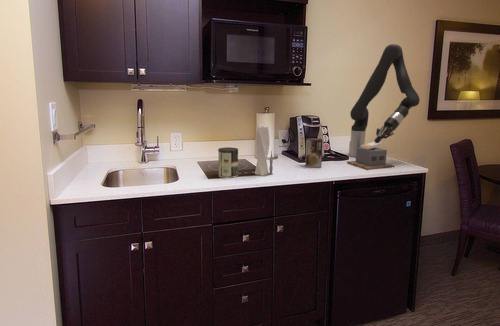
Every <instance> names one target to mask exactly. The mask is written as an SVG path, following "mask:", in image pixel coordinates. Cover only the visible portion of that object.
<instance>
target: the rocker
mask: <svg viewBox="0 0 500 326" xmlns="http://www.w3.org/2000/svg"><path fill="white" fill-rule="evenodd" d="M381 146H384V142H381V141H380V142H379V143H375V141H372V142H368V143H365V144H364V145H361V148H364V149H371V148H375V147H376V148H380V147H381Z"/></svg>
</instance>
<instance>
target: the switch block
mask: <svg viewBox="0 0 500 326" xmlns="http://www.w3.org/2000/svg"><path fill="white" fill-rule="evenodd" d="M387 152H388V150H387V149H385V148H380V147H375V148H371V149H364V148H357V153H356V157H355V161H356V162H357V163H360V164H363V165H367V166H378V165H386V163H387Z"/></svg>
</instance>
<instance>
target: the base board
mask: <svg viewBox="0 0 500 326" xmlns="http://www.w3.org/2000/svg"><path fill="white" fill-rule="evenodd" d="M346 163H347V165H351V166H353V167H356V168H359V169H362V170H366V171H371V170H381V169H392V167H393V168H395V167H396V166H395V165H394V164H391V163H387V162H386V165H378V166H367V165H363V164H360V163H357V162H356V160H350V161H347V162H346Z"/></svg>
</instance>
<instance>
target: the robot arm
mask: <svg viewBox="0 0 500 326" xmlns="http://www.w3.org/2000/svg"><path fill="white" fill-rule="evenodd" d="M392 65H393V68H394V71H395V77H396V81H397V85H398V88H399V91H400V93H401V94H405V96H406V97H404V98H403V99H402V100H401V101H400V103H399V105H398V107H397V108H396V109H395V110H394V111H393V113H391V114H390V115H389V117H388V118H387V119H386V120H385V121H384V123H383V126H381V128H376V133H375V134H376V138H374V141H373V142H375V143H379V142H381V141H382V140H383V139H387V138H389V137H391V136H393V135H395V133H394V131H395V130H396V129H397V128H398V127H399V125H401V123H402V122H403V121H404V120H405V118H406V117H407V116H408V115H409V112H410V109H412V108H414V107H417V106H418V105H419V104H420V96H419V94H418V92H417V91H416V89H415V88H414V87H413V84H412V81H411V79H410V76H409V73H408V71H407V68H406V63H405V59H404V52H403V48H402V47H401V45H399V44H395V43H392V44H388V45H387V46H386V47H385V48H384V50H383V52H382V55H381V57H380V58H379V61H378V63H377V65H376V67H375V69H374V71H373V72H372V73H371V76H370V77H369V79H368V81H367V83H366V85H365V86H364V88H363V91H362V93H361V94H360V96H359V98H358V100H356V102H355V104H354V105H353V106H352V108H351V109H350V113H349V114H350V118H351V119H352V120H353V121H354V122H353V124H352V126H351V129H350V131H351V132H350V141H349V147H348V156H350V157H353V158H356V153H357V148H361V145H364V144H366V133H367V127H368V125H369V124H368V123H369V122H368V121H369V109H368V108H367V107H368V105H369V104H370V103H371V102H372V100H373V99H375V97H376V96H377V95H378V94H379V93H380V92H381V90H382V89H383V86H384V84H385V82H386V79H387V75H388V73H389V70H390V68H391V66H392Z"/></svg>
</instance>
